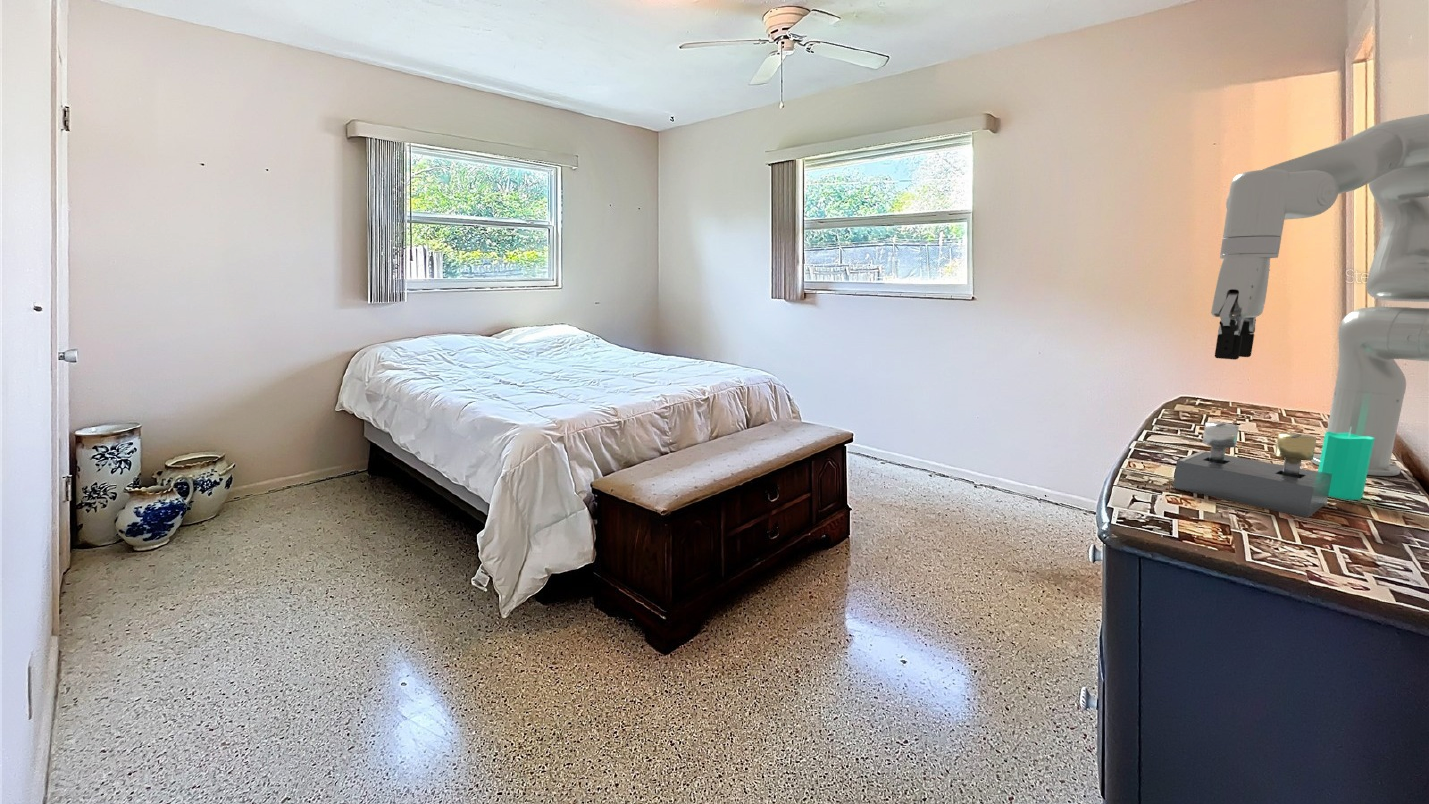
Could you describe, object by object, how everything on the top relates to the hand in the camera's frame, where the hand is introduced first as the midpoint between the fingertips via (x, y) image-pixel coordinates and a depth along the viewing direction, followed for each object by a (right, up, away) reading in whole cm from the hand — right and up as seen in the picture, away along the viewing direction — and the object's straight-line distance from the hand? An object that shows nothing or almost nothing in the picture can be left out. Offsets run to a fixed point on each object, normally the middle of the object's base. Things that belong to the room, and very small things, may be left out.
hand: (1232, 356), depth 109 cm
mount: (+3, -24, 0) cm, 24 cm away
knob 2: (+6, -21, -4) cm, 22 cm away
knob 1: (0, -20, +4) cm, 20 cm away
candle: (+19, -24, +1) cm, 31 cm away
